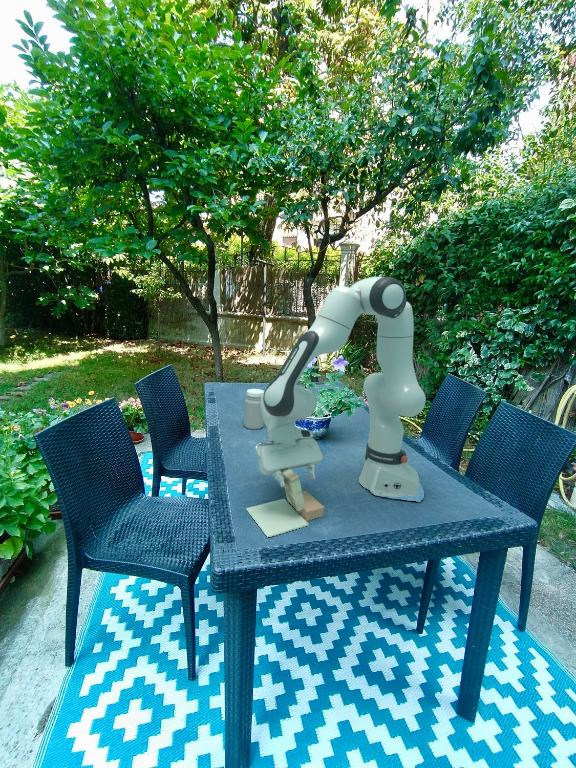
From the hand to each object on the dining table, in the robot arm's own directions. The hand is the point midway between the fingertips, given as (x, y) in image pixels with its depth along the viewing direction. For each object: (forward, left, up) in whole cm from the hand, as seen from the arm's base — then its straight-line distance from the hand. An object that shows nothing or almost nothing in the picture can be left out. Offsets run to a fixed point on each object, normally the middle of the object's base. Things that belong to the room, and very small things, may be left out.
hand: (298, 483), depth 102 cm
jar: (+40, -59, -10) cm, 73 cm away
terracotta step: (-2, -3, -10) cm, 11 cm away
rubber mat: (+5, +4, -10) cm, 12 cm away
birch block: (0, 0, -7) cm, 7 cm away
